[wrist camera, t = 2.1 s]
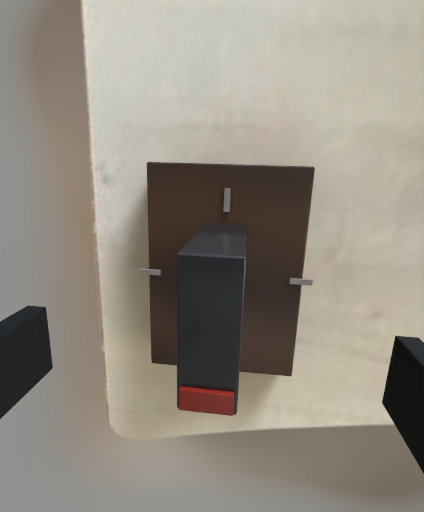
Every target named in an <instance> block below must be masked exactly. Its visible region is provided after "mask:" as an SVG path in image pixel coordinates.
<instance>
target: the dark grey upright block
mask: <svg viewBox="0 0 424 512" xmlns="http://www.w3.org/2000/svg"><path fill="white" fill-rule="evenodd" d="M246 245H247V225H246V224H230V223H209V222H206V223H205V224H204V225H203V226H202V227H201V228H200V229H199V231H198V232H197V233H196V234H195V235H194V236H193V237H192V238H191V239H190V241H189V242H188V243H187V244H186V245H185V246H184V247H183V248H182V250H181V251H180V252H179V253H178V255H177V407H178V409H179V410H185V411H194V412H204V413H213V414H222V415H231V416H233V415H236V413H237V402H238V386H239V369H240V353H241V336H242V320H243V303H244V287H245V270H246Z"/></svg>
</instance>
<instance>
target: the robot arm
mask: <svg viewBox="0 0 424 512" xmlns="http://www.w3.org/2000/svg"><path fill="white" fill-rule="evenodd" d="M52 367H53V366H52V358H51V349H50V340H49V331H48V322H47V314H46V307H37V306H27V307H25V308H23V309H22V310H20V311H18V312H16V313H14V314H13V315H11V316H9V317H8V318H6V319H4V320H2V321H1V322H0V419H1V418H2V417H3V416H4V415H5V414H6V413H7V412H8V411H9V410H10V409H11V408H12V407H13V406H14V405H15V404H16V403H17V402H18V401H19V400H20V399H21V398H22V397H23V396H24V395H25V394H27V393H28V392H29V391H30V390H31V389H32V388H33V387H34V386H35V384H37V383H38V382H39V381H40V380H41V379H42V378H43V377H44V376H45V375H46V374H47V373H48V372H49V371H50V370H51V369H52ZM382 403H383V405H384V407H385V408H386V410H387V412H388V413H389V415H390V417H391V419H392V420H393V422H394V424H395V425H396V427H397V429H398V430H399V432H400V434H401V435H402V437H403V439H404V441H405V442H406V444H407V446H408V447H409V449H410V451H411V453H412V454H413V456H414V458H415V459H416V461H417V463H418V464H419V466H420V468H421V470H422V471H423V473H424V342H422V341H421V340H420V339H419V338H414V337H402V336H395V341H394V346H393V351H392V356H391V361H390V366H389V371H388V376H387V381H386V386H385V391H384V396H383V401H382Z"/></svg>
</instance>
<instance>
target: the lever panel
mask: <svg viewBox="0 0 424 512" xmlns="http://www.w3.org/2000/svg"><path fill="white" fill-rule="evenodd" d="M314 169H315V168H314V167H306V166H269V165H233V164H197V163H161V162H147V183H148V227H149V269H140V274H145V275H150V314H151V357H152V363H157V364H168V365H177V255H178V253H179V252H180V251H181V250H182V248H183V247H184V246H185V245H186V244H187V243H188V242H189V241H190V239H191V238H192V237H193V236H194V235H195V234H196V233H197V232H198V231H199V229H200V228H201V227H202V226H203V225H204V224H205V223H206V222H209V223H230V224H246V225H247V245H246V270H245V287H244V303H243V320H242V336H241V353H240V369H239V371H241V372H251V373H262V374H272V375H283V376H291V375H292V367H293V358H294V349H295V340H296V331H297V322H298V313H299V304H300V295H301V286H302V285H312V283H313V280H312V279H302V277H303V268H304V259H305V250H306V241H307V232H308V223H309V214H310V205H311V196H312V187H313V178H314Z"/></svg>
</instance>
